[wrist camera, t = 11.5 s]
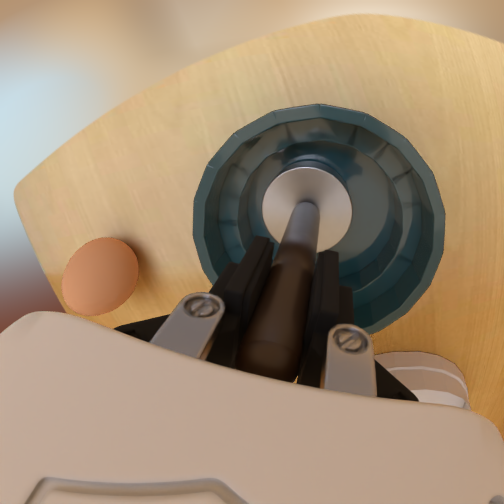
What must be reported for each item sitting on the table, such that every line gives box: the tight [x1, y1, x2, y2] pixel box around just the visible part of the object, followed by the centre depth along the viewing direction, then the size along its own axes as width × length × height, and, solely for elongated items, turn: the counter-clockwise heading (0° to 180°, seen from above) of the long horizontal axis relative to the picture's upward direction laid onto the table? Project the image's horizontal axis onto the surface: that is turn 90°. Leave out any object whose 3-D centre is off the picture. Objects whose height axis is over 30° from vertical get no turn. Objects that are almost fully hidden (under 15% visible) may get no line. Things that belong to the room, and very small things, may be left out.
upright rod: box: [235, 161, 353, 383], centre depth 14 cm, size 6×6×16 cm
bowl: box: [193, 104, 445, 335], centre depth 20 cm, size 16×16×6 cm
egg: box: [62, 238, 139, 316], centre depth 25 cm, size 7×7×9 cm
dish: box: [374, 351, 471, 411], centre depth 29 cm, size 22×22×5 cm
